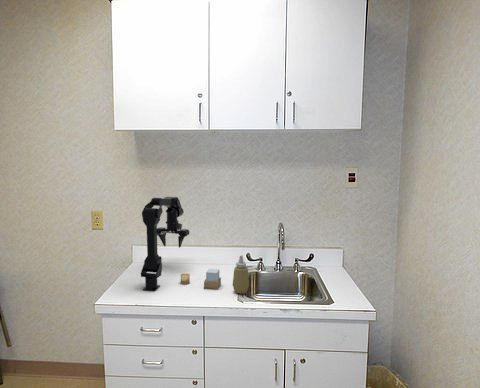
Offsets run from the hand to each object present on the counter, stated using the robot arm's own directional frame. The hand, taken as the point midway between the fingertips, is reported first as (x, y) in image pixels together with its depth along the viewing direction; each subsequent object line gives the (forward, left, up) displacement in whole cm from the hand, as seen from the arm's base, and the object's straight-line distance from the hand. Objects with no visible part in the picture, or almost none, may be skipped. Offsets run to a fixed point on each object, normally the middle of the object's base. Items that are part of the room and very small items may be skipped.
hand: (172, 246), depth 203 cm
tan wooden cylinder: (-16, -13, -14) cm, 25 cm away
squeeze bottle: (-22, -43, -14) cm, 50 cm away
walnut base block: (-18, -28, -14) cm, 36 cm away
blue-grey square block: (-18, -28, -10) cm, 35 cm away
